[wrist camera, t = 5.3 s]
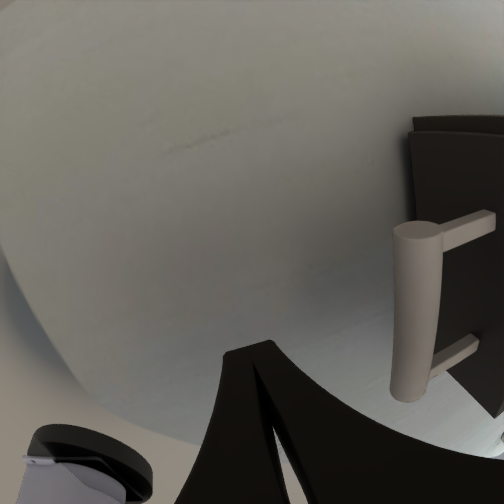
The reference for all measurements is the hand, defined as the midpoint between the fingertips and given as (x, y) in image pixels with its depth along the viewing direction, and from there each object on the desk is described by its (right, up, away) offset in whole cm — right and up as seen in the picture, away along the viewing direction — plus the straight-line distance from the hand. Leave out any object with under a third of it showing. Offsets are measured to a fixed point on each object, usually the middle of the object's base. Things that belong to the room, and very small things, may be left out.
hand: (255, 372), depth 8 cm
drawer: (+11, +5, +5) cm, 13 cm away
